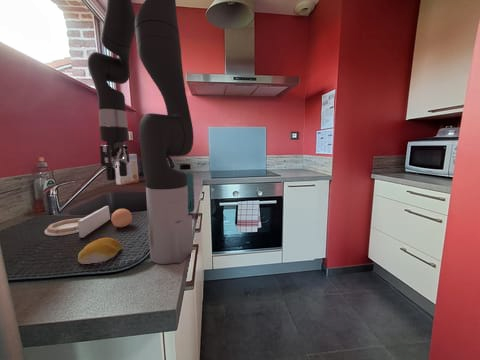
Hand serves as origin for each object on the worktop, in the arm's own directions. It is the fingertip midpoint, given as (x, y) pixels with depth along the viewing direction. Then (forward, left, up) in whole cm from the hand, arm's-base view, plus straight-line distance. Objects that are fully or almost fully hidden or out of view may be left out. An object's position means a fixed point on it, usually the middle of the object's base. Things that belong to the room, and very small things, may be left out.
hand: (118, 178), depth 68 cm
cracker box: (+62, -69, -17) cm, 94 cm away
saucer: (+15, +6, -16) cm, 23 cm away
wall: (+7, +3, -16) cm, 18 cm away
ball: (0, 0, -13) cm, 13 cm away
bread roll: (-10, +17, -17) cm, 26 cm away
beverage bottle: (-14, -17, -17) cm, 28 cm away
